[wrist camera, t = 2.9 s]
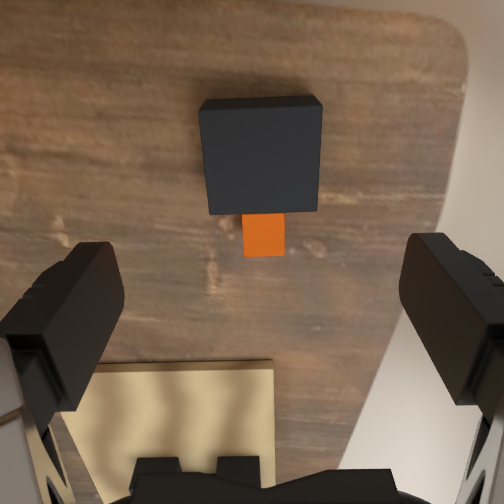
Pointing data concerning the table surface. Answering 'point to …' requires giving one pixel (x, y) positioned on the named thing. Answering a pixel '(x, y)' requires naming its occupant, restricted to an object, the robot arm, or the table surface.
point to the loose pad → (262, 163)
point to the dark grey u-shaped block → (227, 468)
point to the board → (174, 418)
